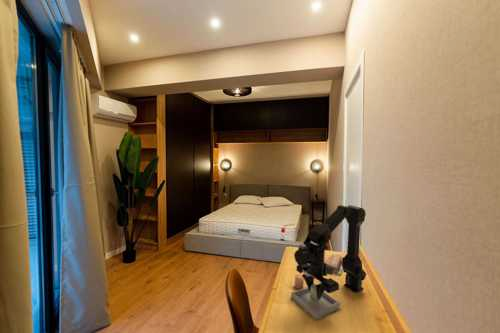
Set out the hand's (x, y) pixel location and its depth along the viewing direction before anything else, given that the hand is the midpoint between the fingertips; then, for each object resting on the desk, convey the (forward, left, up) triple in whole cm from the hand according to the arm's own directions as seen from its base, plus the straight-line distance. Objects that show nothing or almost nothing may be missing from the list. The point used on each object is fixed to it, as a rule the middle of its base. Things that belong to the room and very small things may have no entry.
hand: (315, 295), depth 89 cm
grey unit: (+32, -29, -3) cm, 43 cm away
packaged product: (+18, -34, -4) cm, 39 cm away
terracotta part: (+12, -2, -3) cm, 13 cm away
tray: (0, 0, -3) cm, 3 cm away
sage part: (0, 0, -1) cm, 1 cm away
